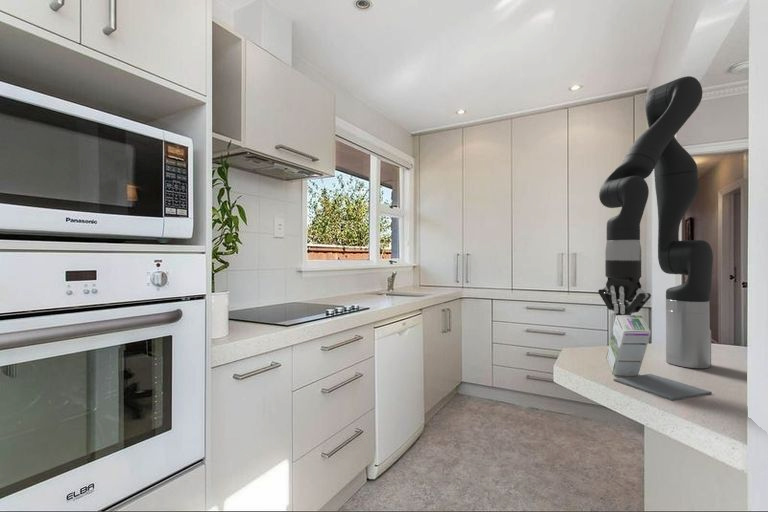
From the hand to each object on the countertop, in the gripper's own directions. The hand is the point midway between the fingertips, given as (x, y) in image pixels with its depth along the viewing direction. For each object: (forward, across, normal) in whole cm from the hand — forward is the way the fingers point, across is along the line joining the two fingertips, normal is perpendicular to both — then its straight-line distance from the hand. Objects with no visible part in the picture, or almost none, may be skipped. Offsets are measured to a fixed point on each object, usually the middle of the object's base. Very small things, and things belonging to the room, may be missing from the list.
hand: (623, 328), depth 94 cm
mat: (+11, -10, +1) cm, 15 cm away
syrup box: (+10, 0, 0) cm, 10 cm away
